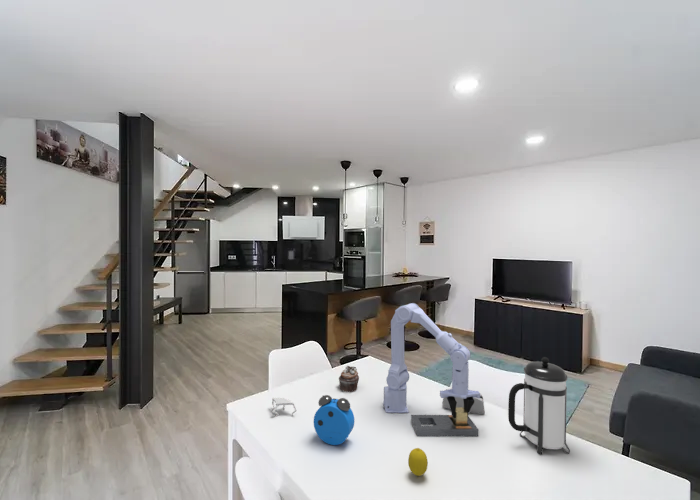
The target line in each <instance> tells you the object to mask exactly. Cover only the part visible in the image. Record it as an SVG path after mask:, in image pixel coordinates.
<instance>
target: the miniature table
mask: <svg viewBox="0 0 700 500" xmlns="http://www.w3.org/2000/svg"><path fill="white" fill-rule="evenodd" d="M274 403H275V404H274ZM271 405H272V408H273V410H272V411H271V413H272V414H276V415H275V416H274V418H277V417H278V416H279V414H280V413H278V412H277V411H276V410H277V409H278V408H279V406H282V410H283V411H284V410H285V407H286V406H293V408H294V409H293V410H294V411H293V412H291V417H293V416H294V413H296V412H297V407H296V406H295V404H294V402H293V401H292V400H289V399H287V398H285V397H272V402H271Z"/></svg>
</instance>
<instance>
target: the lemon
mask: <svg viewBox="0 0 700 500" xmlns="http://www.w3.org/2000/svg"><path fill="white" fill-rule="evenodd" d="M407 461H408V462H407V463H408V468H409V470H410V471H411V473H412V474H413V475H414V476H416V477H420V476H421V477H422V476H423V475H424V474H426V472H427V469H428V467H429V465H428V463H429V462H428V458H427V454H426V452H425V451H424V450H423V449H422V448H419V447H415V448H413V449H412V450H410V452H409V454H408V460H407Z"/></svg>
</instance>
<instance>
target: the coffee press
mask: <svg viewBox="0 0 700 500" xmlns="http://www.w3.org/2000/svg"><path fill="white" fill-rule="evenodd" d="M523 372H524V379H523V380H524V381H523V382H524V383H522V382H521V383H515V384H514V385H513V386H512V387H511V388H510V390H509V392H508V393H509V394H508V409H507V410H508V412H507V415H508V421H509V425H510V427H512V428H513V429H514V430H515V431H518V432H520V433H519V437H520V438H522V439H524V438H526V439H528V441H529V442H531V443H532V444H533V445H536V446H537V448H536V452H537V454H539V455H542V456H543V451H544V449H547V450H560V449H561V450H562V451H563V452H564V454H567V455H570V452H571V449H570V447H569V446H568V444H567V403H568V402H567V397H568V396H567V394H568V393H567V390H568V388H567V382H568V381H567V380H568V375H567V373H566V372H565V370H564V369H563V368H562V367H561V366H558V365H556V364H554V363H550V359H549V358H548V357H546V356H543V357H542V358H541V360H540V361H531V362H528V363H526V365H525V367H524V368H523ZM521 390H523V424H522V425H521V424H517V423H516V419H515V418H516V396H517V393H518V392H519V391H521ZM522 433H524V435H522ZM564 446H565V447H566V449H567V450H566V449H565V448H564Z"/></svg>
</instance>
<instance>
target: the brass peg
mask: <svg viewBox="0 0 700 500" xmlns="http://www.w3.org/2000/svg"><path fill="white" fill-rule="evenodd" d="M453 424H454V425H455V426H467V412H466V410H465V409H464V408H463V407H456V416H455V418H453Z"/></svg>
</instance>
